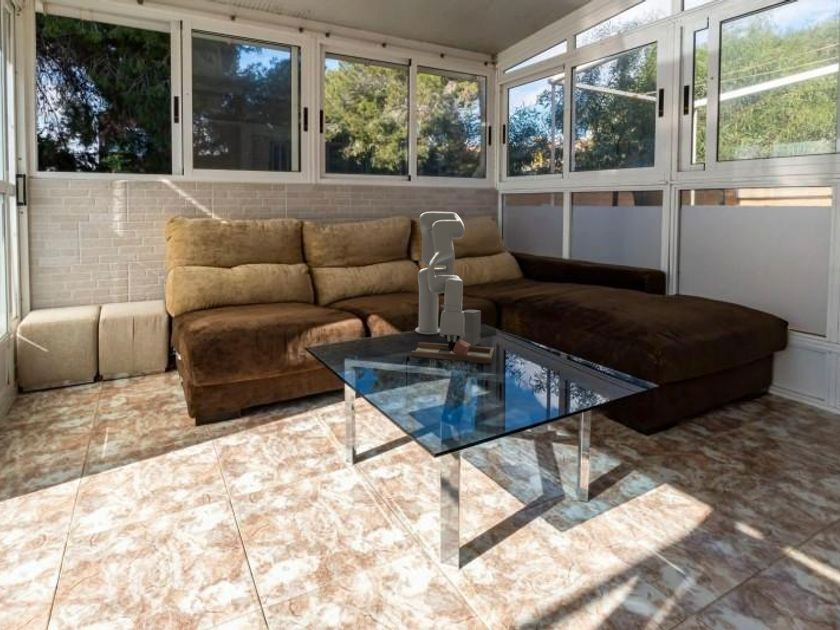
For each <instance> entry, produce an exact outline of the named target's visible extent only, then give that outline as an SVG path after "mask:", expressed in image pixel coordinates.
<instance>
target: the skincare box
mask: <svg viewBox="0 0 840 630" xmlns="http://www.w3.org/2000/svg"><path fill="white" fill-rule="evenodd" d="M463 311H464V318H465V332H464V333H465V337H464V338H460V339H461V340H463V341H465V342H467V343H469V344H471V346H478V345H480V344H481V328H482V327H481V324H482V323H481V322H482V320H481V319H482V311H481V310H477V309H464V310H463ZM479 343H480V344H479ZM477 344H478V345H477Z"/></svg>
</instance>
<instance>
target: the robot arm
mask: <svg viewBox="0 0 840 630" xmlns="http://www.w3.org/2000/svg"><path fill="white" fill-rule="evenodd" d="M418 220H419V221H418V223H419V228H420V231H421V237H422V238H421V239H422V240H421V261H422V264H423V265H424V266H427V267H425V268H422V269H420V270H418V272H417V283H418V326H417V327H416V328H415V329H414V330H415V333H417V334H420V335H438V334H439V336H440V337H443V338H445V339H446V341H447V344H448V348H450V350H449V351H451V350H452V351H453V349H454V347H455V344H456V342H457V341H459V340H460V339H461V338H464V337H465V333H464V332H465V318H464V310H463V298H464V297H463V295H464V281H463V279H461V277H460V276H458V275H457V274H456V275H455V266H456V264H455V262H456V253H455V247H454V240H462V239H463V238H464V236H465V232H466V231H465V230H466V229H465V225H464V222H463V220H462V218H461V217H460V216H459V215H458V214H457V213H456V212H455V211H454V212H453V211H426V212H423V213H421V214H420V215H419V219H418ZM436 266H437V267H436ZM438 266H439V267H438ZM441 266H443V267H441ZM439 294H444V301H443V302H444V303H442V304H440V308H441V309H443V310H442V311H441V315H440V325H439ZM452 337H453V339H452Z"/></svg>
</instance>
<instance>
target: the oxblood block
mask: <svg viewBox="0 0 840 630" xmlns="http://www.w3.org/2000/svg"><path fill="white" fill-rule="evenodd" d="M470 346H471V344H469V343H467V342H465V341H463V340H461V338H459V339H458V340H457V341H456V344H455V347H454V349H453V353H455V354H464V355H467V353H468V350H469V348H470Z"/></svg>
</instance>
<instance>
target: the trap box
mask: <svg viewBox="0 0 840 630" xmlns="http://www.w3.org/2000/svg"><path fill="white" fill-rule="evenodd" d="M449 350H450V348H448V343H435V342H422V341H421V342H419V341H418V342H417V347H416V349H415V350H411V351H410V357H415V358H416V357H418V358H428V359H429V358H431V359H439V360H441V359H443V360H456V361H468V362H470V363H473V364H474V363H476V364H487V363H491V364H492V361H493V358H494V357H493V356H494V354H495V353H494V352H495V347H492V346H478V345H475V346H470V348H469V350H468V353H467V355H464V354H455V353H453V351H452V350H451V351H449ZM493 353H494V354H493ZM492 357H493V358H492Z"/></svg>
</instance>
